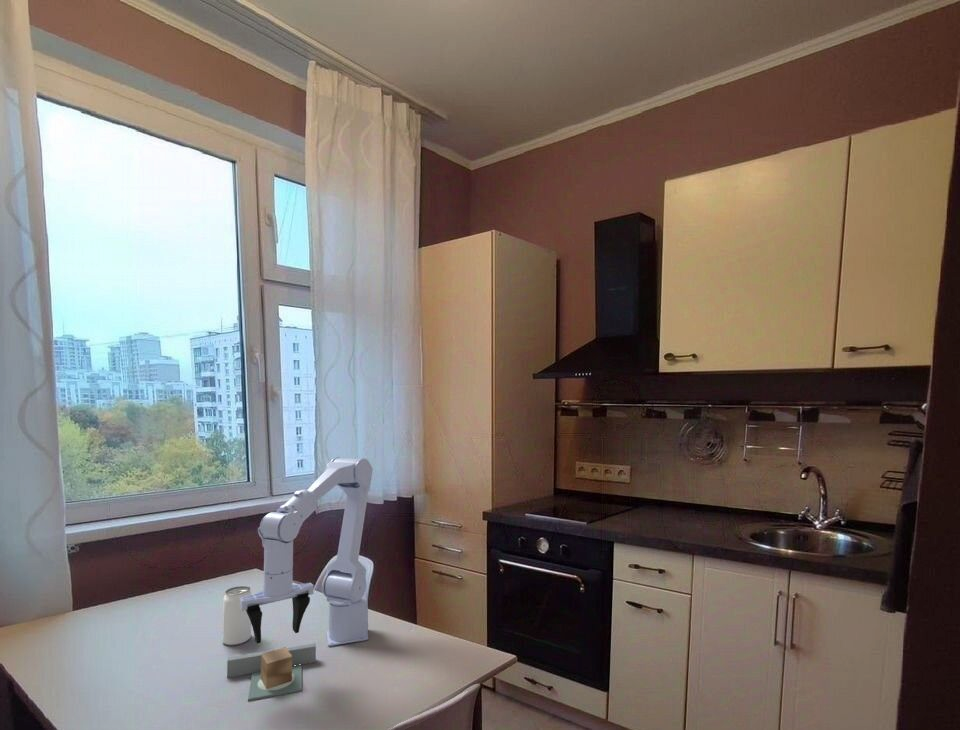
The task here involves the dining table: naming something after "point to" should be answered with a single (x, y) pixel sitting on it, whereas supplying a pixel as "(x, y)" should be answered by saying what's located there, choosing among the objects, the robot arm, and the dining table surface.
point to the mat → (260, 691)
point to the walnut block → (276, 667)
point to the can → (235, 617)
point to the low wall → (253, 661)
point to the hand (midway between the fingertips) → (277, 636)
